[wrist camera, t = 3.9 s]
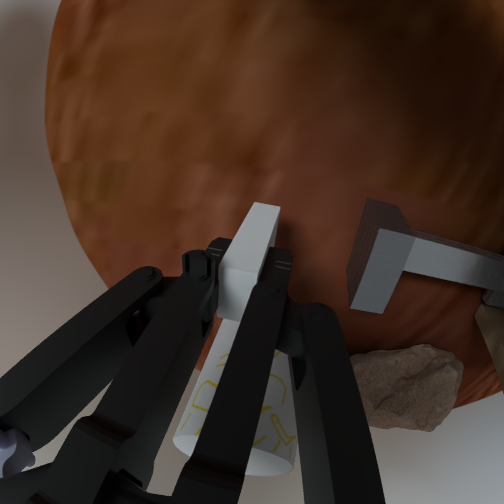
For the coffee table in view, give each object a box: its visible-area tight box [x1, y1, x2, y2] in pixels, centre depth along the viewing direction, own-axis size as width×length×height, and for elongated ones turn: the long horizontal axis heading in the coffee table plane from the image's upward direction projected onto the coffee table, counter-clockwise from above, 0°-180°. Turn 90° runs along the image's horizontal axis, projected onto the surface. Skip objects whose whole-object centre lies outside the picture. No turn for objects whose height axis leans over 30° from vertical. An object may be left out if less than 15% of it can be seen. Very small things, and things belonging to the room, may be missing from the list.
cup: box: [173, 319, 298, 476], centre depth 20 cm, size 8×8×12 cm
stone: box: [350, 344, 464, 432], centre depth 21 cm, size 12×9×10 cm
